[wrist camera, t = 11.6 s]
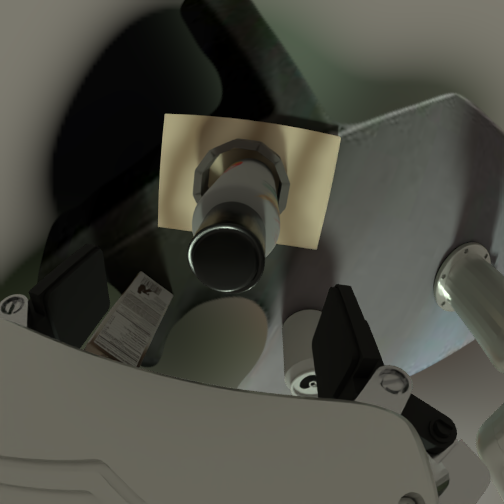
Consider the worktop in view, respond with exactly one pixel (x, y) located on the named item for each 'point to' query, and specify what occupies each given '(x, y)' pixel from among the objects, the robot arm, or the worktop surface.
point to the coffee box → (131, 322)
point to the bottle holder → (241, 147)
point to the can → (300, 352)
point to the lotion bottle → (235, 228)
